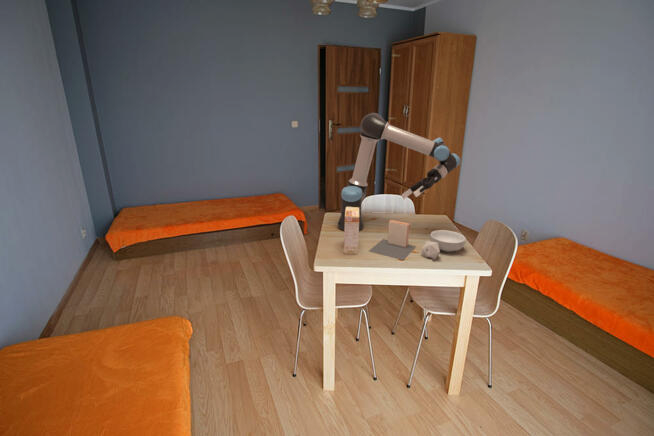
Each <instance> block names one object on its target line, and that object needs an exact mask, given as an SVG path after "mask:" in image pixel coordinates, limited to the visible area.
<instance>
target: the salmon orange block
mask: <svg viewBox="0 0 654 436" xmlns="http://www.w3.org/2000/svg"><path fill="white" fill-rule="evenodd" d="M410 227H411V223H408V222H404V221H399V220H394V219H390V220H389V221H388V229H387V231H388V232H387V240H388V242H387V243H389V244H393V245H398V246H402V247H407V246H408V245H409V239H410Z"/></svg>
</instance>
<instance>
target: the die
mask: <svg viewBox="0 0 654 436" xmlns="http://www.w3.org/2000/svg"><path fill="white" fill-rule="evenodd" d="M421 252H422V256H423V257H425V258H429V259H432V260H436V259H437V257H438V256H439V254H440V253H441V250H440V249H439V245H438V243H437V242H431V240H426V241H425V243H424V244H423V245H422V247H421Z"/></svg>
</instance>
